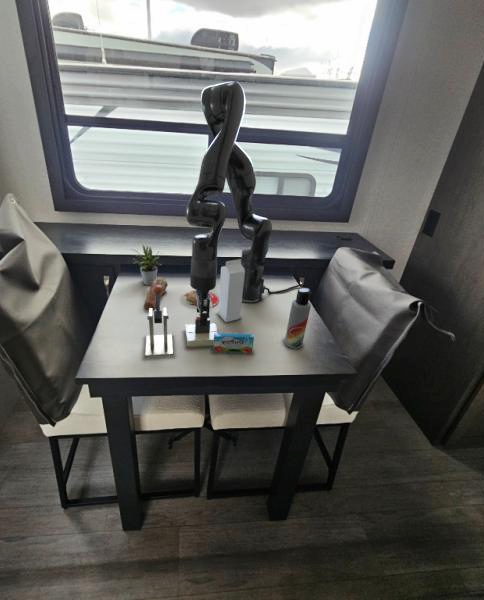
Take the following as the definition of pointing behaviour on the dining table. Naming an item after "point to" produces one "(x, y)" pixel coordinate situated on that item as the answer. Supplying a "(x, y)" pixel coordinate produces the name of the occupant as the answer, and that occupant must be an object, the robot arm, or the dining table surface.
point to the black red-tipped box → (201, 329)
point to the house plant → (148, 266)
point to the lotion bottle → (298, 319)
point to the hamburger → (192, 300)
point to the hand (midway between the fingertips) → (201, 319)
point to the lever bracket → (158, 338)
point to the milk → (231, 290)
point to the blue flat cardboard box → (233, 343)
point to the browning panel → (200, 336)
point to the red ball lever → (157, 303)
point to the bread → (151, 297)
